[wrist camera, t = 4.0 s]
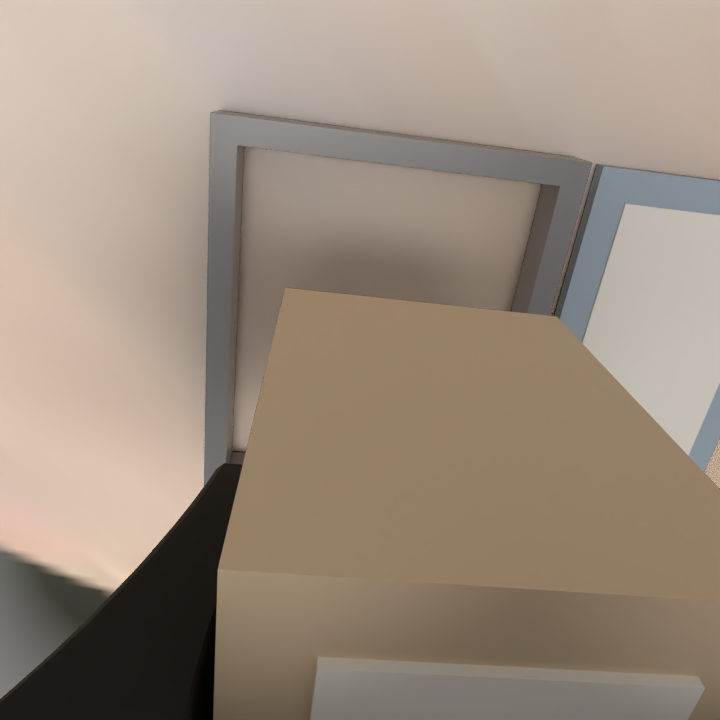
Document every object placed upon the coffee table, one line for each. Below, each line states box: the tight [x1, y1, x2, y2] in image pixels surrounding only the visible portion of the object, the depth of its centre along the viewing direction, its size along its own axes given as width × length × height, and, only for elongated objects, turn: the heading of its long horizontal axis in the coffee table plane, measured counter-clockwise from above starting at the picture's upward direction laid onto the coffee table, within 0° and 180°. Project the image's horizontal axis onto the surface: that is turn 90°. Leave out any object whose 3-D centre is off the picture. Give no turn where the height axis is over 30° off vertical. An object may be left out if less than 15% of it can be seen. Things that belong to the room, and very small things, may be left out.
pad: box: [554, 164, 720, 472], centre depth 17 cm, size 6×10×1 cm, turn 173°
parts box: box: [213, 288, 720, 720], centre depth 8 cm, size 4×6×6 cm
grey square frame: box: [204, 110, 592, 486], centre depth 16 cm, size 9×10×1 cm
